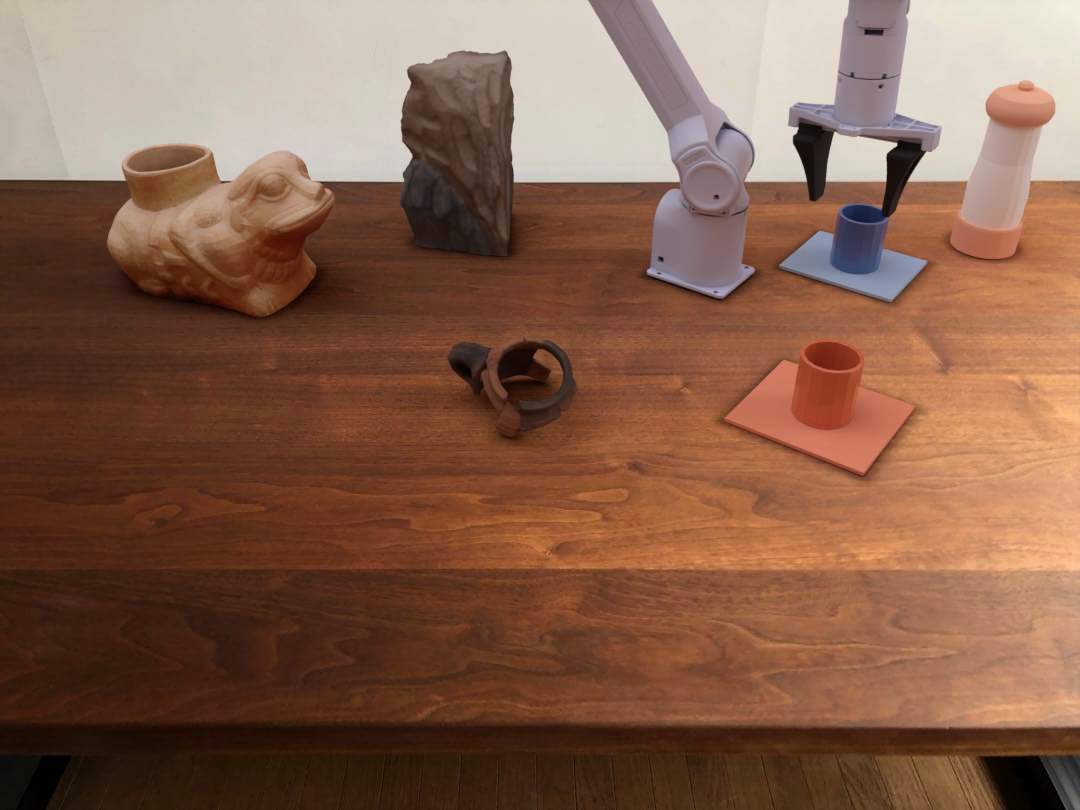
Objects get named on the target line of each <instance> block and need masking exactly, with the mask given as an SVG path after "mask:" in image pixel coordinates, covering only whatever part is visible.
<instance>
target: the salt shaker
mask: <svg viewBox="0 0 1080 810" xmlns="http://www.w3.org/2000/svg"><path fill="white" fill-rule="evenodd" d="M984 105H985V112H986V115H987V116H988V117H989V120H988V124H987V127H986V132H985V134H984V139H983V143H982V147H981V150H980V153H979V155H978V157H977V159H976V162H975V165H974V166H973V170H972V171H971V174H970V176H969V178H968V180H967V183H966V187H965V192H964V196H963V201H962V205H961V208H959V209H958V210H957V211H956V215H955V218H954V223H953V227H952V230H951V234H950V237H949V243H950V245H951V246H952V247H953V248H954V249H955V250H957V251H959V252H960V253H962V254H964V255H968V256H971V257H974V258H979V259H985V260H1000V259H1007V258H1010V257H1012V256H1013V255H1014V254H1015V253H1016V251H1017V247H1018V244H1019V240H1020V237H1021V234H1022V231H1023V227H1024V221H1023V219H1022V217H1023V215H1024V211H1025V209H1026V205H1027V202H1028V199H1029V196H1030V190H1031V189H1030V187H1031V180H1032V172H1033V171H1032V170H1033V161H1034V159H1035V155H1036V152H1037V147H1038V145H1039V141H1040V137H1041V134H1042V130H1043V126H1045V125H1047V124H1048V123H1049V122H1050V121H1051V120H1052V119H1053V118H1054V116H1055V114H1056V101H1055V99H1054V97H1053V96H1052V94H1050V93H1049V92H1047V91H1045V90H1044V89H1042V88H1041V87H1038V86H1035V84H1034V82H1033V81H1031V80H1027V79H1024V80H1021V81H1019V83H1013V84H1007V85H1003V86H999V87H997V88H995V89H994V90H993V91H992V92H990V94H989V95H988V97H987V99H986V100H985V104H984Z"/></svg>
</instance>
